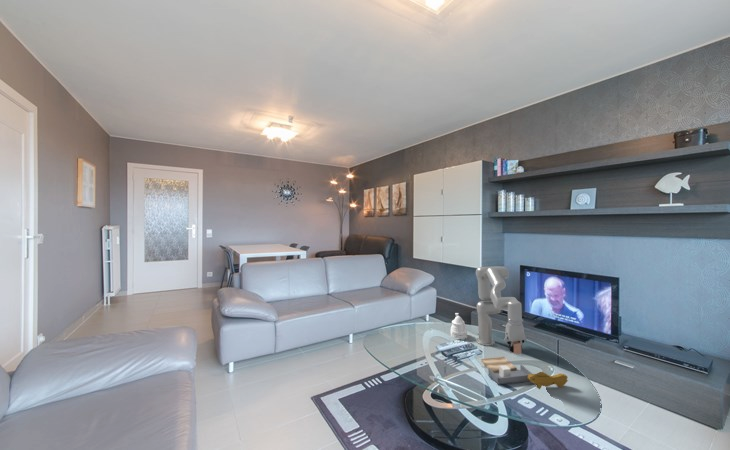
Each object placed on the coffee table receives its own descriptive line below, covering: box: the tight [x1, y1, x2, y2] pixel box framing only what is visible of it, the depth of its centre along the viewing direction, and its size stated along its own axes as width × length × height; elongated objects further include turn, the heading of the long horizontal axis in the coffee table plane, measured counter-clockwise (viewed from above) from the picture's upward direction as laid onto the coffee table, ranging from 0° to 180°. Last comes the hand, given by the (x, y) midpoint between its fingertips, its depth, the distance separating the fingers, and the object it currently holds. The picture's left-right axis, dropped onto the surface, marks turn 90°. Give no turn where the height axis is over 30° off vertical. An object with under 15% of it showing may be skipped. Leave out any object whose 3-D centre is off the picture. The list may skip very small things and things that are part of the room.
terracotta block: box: [512, 341, 522, 355], centre depth 176 cm, size 4×4×6 cm
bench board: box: [480, 356, 518, 373], centre depth 189 cm, size 14×16×2 cm
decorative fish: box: [528, 371, 569, 390], centre depth 166 cm, size 22×3×10 cm, turn 93°
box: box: [487, 364, 533, 386], centre depth 176 cm, size 11×22×4 cm, turn 96°
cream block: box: [499, 365, 511, 377], centre depth 176 cm, size 4×4×6 cm
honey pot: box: [450, 312, 468, 340], centre depth 235 cm, size 13×13×18 cm
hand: (515, 350), depth 176 cm, fingers closed on terracotta block, 4 cm apart
